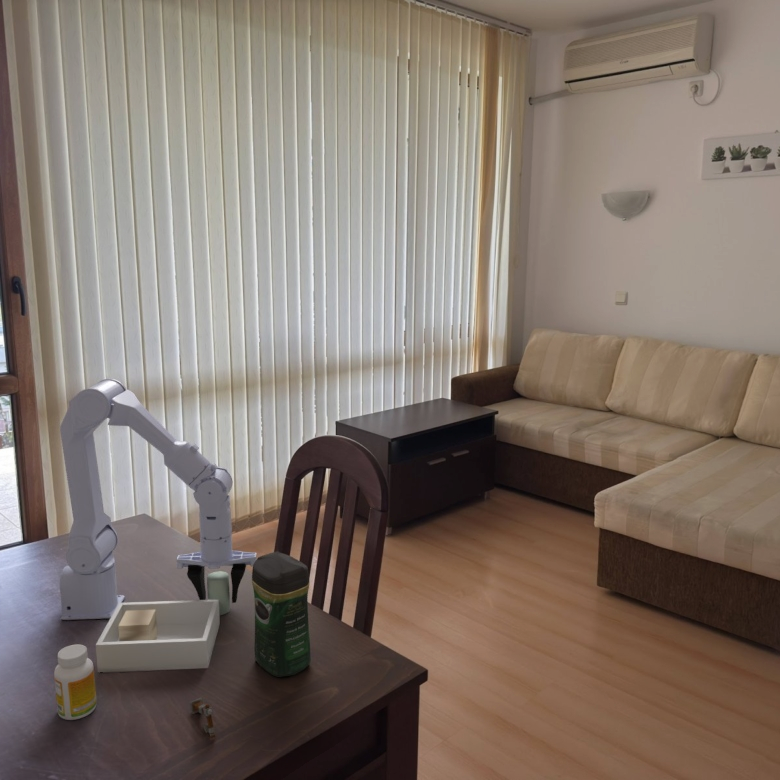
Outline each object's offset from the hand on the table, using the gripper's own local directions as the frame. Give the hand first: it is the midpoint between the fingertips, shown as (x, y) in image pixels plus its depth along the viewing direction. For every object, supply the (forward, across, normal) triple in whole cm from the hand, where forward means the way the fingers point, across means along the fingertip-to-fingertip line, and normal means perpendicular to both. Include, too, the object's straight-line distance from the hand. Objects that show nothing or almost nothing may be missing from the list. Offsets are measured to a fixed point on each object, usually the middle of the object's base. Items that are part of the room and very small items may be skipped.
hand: (219, 600), depth 137 cm
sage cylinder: (+2, 0, 0) cm, 2 cm away
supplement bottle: (+2, -17, -28) cm, 33 cm away
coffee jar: (+2, +13, -18) cm, 22 cm away
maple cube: (+1, -12, -12) cm, 17 cm away
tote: (+2, -8, -12) cm, 15 cm away
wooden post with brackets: (+2, +3, -32) cm, 33 cm away
